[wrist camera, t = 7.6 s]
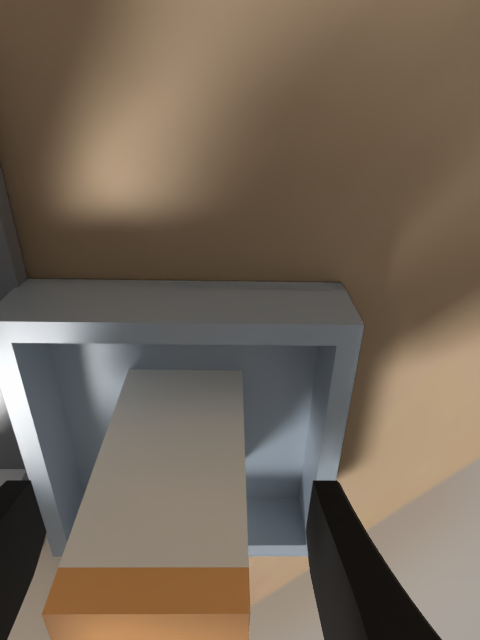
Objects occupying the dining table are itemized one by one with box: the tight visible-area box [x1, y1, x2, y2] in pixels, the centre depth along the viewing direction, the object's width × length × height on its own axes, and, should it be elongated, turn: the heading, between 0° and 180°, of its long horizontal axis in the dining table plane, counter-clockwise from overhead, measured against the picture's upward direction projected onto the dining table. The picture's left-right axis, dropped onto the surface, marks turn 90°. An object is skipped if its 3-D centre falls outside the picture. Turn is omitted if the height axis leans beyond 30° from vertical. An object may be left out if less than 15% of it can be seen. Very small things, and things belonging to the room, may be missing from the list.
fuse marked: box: [42, 369, 250, 640], centre depth 11 cm, size 4×4×7 cm
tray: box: [0, 279, 364, 557], centre depth 14 cm, size 9×9×2 cm
